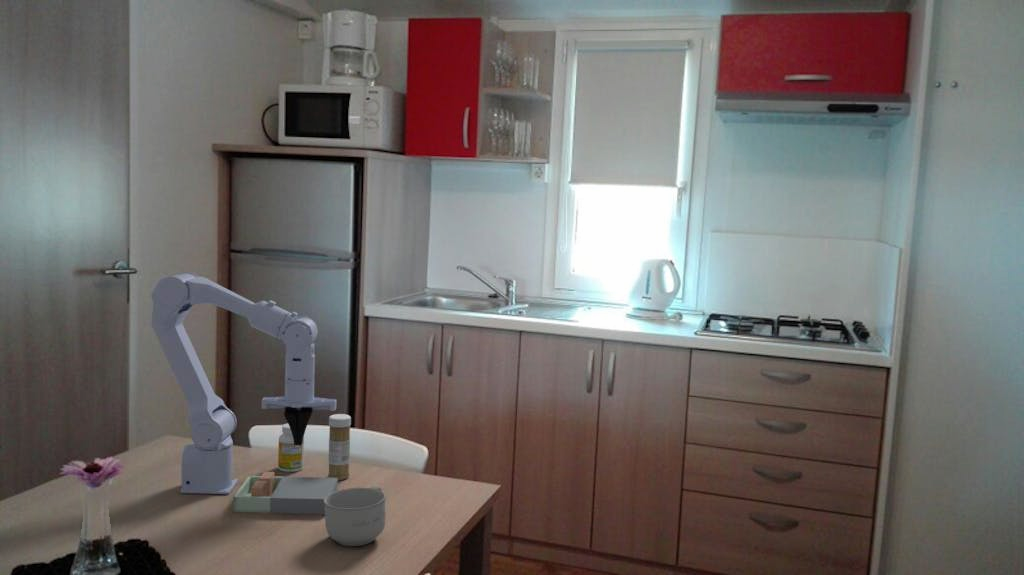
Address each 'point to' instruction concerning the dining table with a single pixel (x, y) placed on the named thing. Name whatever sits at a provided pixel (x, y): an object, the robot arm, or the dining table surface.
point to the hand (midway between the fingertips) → (298, 443)
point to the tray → (252, 498)
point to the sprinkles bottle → (339, 446)
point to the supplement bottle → (290, 452)
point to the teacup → (355, 515)
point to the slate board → (302, 495)
